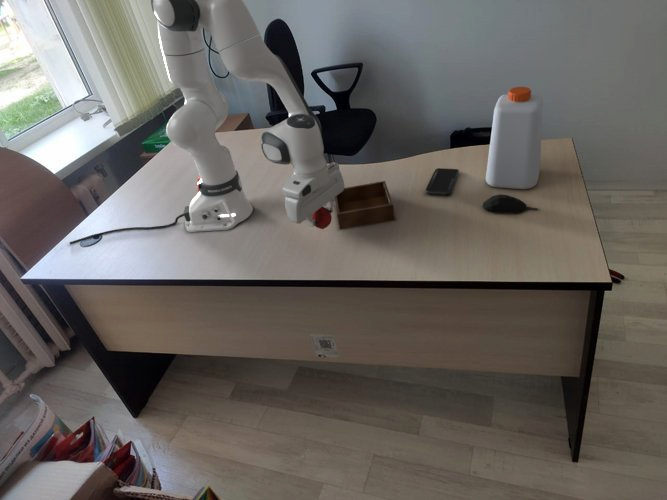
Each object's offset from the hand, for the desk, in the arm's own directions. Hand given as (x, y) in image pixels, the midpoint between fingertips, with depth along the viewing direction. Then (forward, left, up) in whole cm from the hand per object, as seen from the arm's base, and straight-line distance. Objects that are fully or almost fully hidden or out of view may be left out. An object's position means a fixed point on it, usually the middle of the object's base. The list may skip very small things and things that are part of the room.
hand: (321, 219), depth 134 cm
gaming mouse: (+54, 0, -8) cm, 54 cm away
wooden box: (+13, +12, -7) cm, 19 cm away
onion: (0, 0, -3) cm, 3 cm away
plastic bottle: (+61, +16, -8) cm, 63 cm away
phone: (+40, +20, -7) cm, 45 cm away
